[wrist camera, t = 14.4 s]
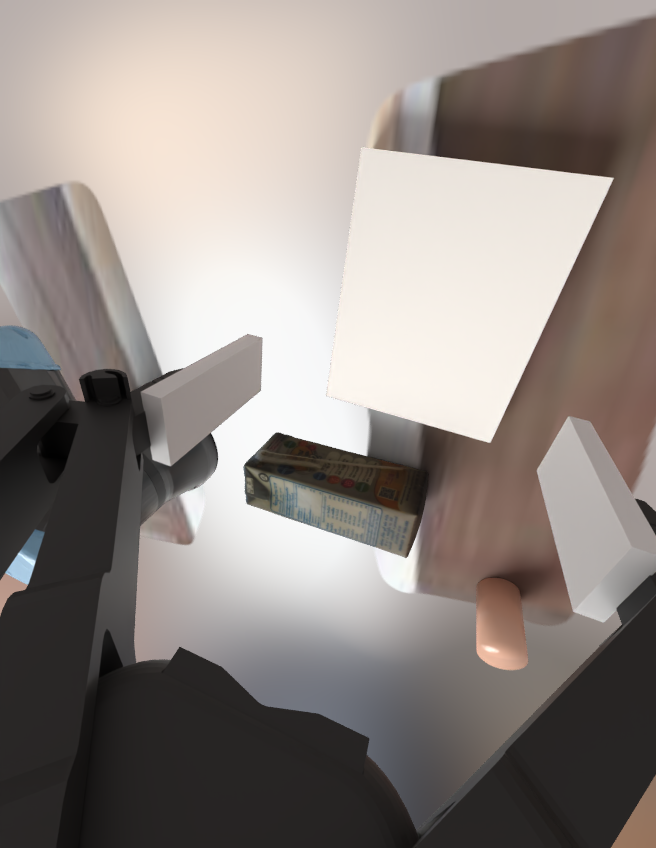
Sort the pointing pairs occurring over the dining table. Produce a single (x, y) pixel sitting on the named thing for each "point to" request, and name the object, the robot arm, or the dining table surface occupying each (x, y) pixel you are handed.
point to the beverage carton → (338, 491)
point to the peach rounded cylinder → (500, 624)
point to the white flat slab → (452, 283)
